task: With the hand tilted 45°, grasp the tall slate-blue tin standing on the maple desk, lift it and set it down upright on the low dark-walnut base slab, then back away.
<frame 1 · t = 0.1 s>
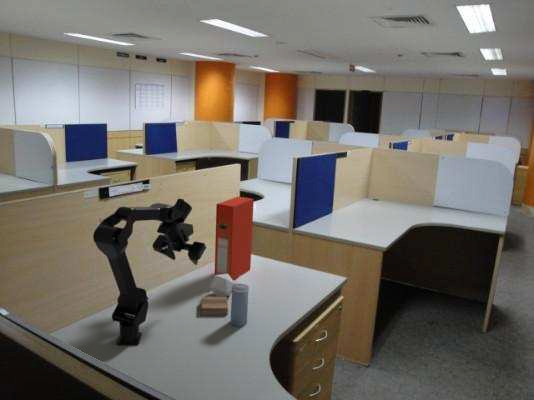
hand: (185, 261, 161), 15 cm above the table, tool tilted 35°, fingers open, 9 cm apart
base slab: (214, 308, 159), on the table
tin: (238, 322, 150), on the table
file binder: (232, 274, 191), on the table
die: (222, 295, 170), on the table
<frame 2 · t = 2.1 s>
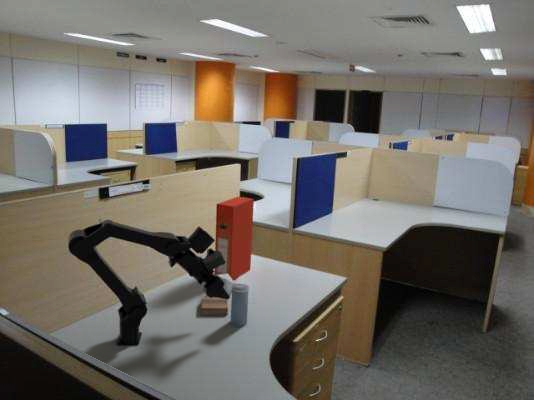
hand: (224, 292, 145), 12 cm above the table, tool tilted 45°, fingers open, 9 cm apart
nothing on the table moved.
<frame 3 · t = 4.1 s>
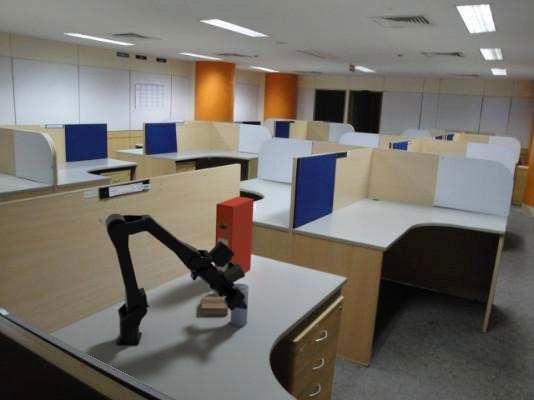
hand: (243, 304, 149), 7 cm above the table, tool tilted 45°, fingers closed on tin, 5 cm apart
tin: (238, 322, 150), on the table, touching gripper
everything else where it was.
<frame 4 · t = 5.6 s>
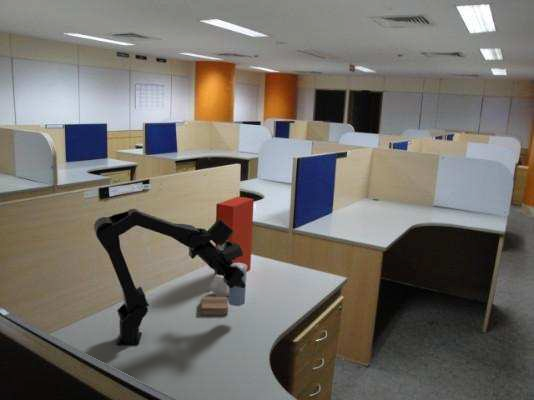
hand: (241, 283, 149), 13 cm above the table, tool tilted 45°, fingers closed on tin, 5 cm apart
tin: (236, 302, 150), point 7 cm above the table, touching gripper
everything else where it was.
when the fingers open (10 cm above the table, at t = 7.3 s): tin drops 1 cm, resting on base slab.
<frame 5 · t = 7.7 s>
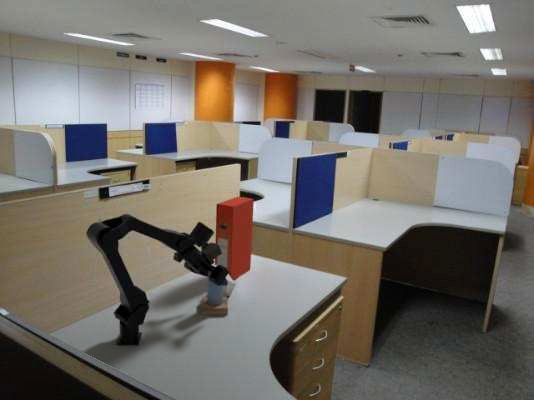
hand: (218, 280, 157), 11 cm above the table, tool tilted 45°, fingers open, 9 cm apart
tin: (214, 302, 158), point 3 cm above the table, touching base slab
everything else where it was.
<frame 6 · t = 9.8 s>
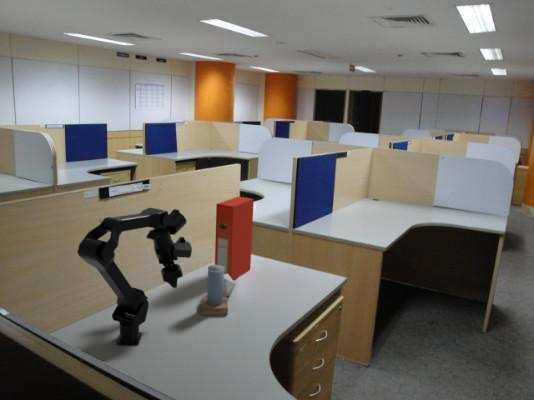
hand: (172, 279, 152), 12 cm above the table, tool tilted 20°, fingers open, 9 cm apart
nothing on the table moved.
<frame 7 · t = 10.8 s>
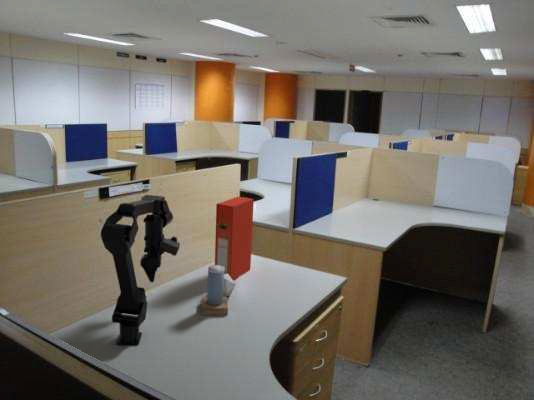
hand: (153, 276, 151), 13 cm above the table, tool pointing down, fingers open, 9 cm apart
nothing on the table moved.
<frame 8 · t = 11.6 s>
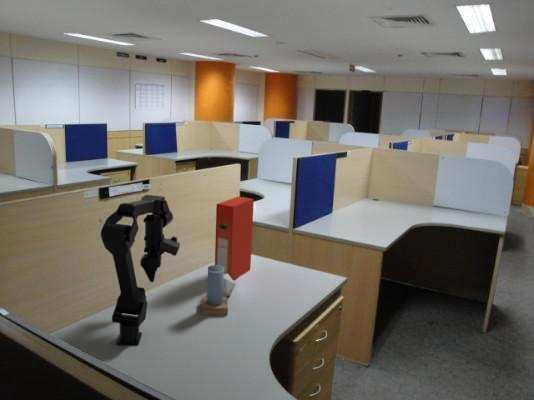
hand: (153, 276, 151), 13 cm above the table, tool pointing down, fingers open, 9 cm apart
nothing on the table moved.
at the end: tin inside the target area on the base slab (0.0 cm from its centre), point 2.6 cm above the base slab's base; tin tilted 1°; the gripper is holding nothing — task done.
